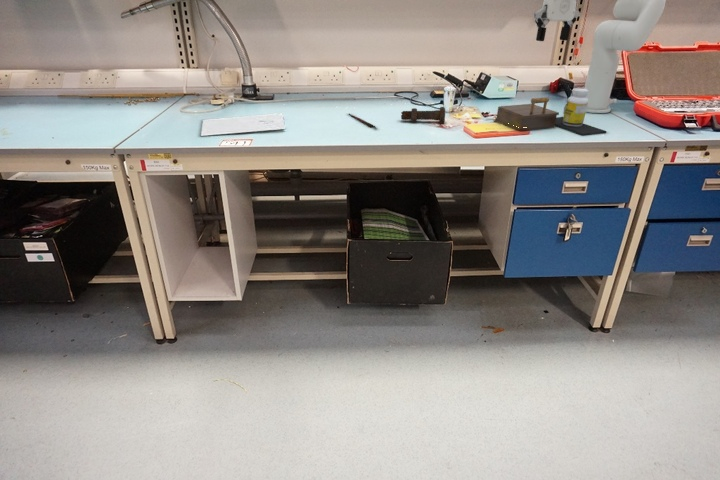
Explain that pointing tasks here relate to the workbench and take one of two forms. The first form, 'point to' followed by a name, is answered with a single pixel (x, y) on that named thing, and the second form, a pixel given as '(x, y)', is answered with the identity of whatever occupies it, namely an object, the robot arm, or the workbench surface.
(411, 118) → the bolt
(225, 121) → the paper sheet
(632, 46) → the robot arm
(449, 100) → the milkshake
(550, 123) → the box
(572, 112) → the pill bottle
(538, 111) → the lid
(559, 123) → the mat
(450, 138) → the workbench surface
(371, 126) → the pen
